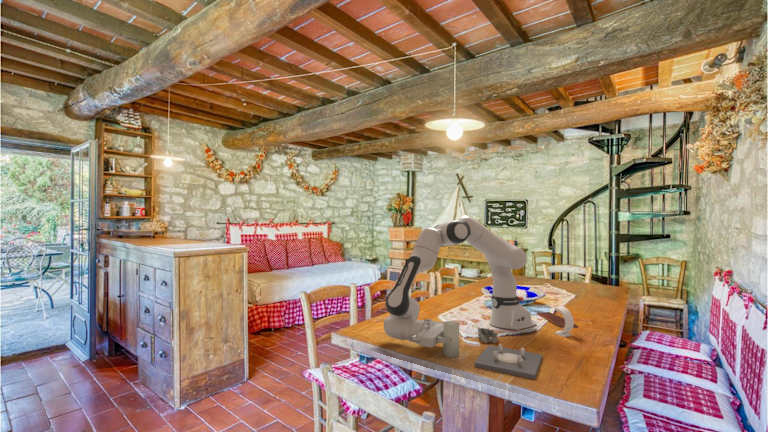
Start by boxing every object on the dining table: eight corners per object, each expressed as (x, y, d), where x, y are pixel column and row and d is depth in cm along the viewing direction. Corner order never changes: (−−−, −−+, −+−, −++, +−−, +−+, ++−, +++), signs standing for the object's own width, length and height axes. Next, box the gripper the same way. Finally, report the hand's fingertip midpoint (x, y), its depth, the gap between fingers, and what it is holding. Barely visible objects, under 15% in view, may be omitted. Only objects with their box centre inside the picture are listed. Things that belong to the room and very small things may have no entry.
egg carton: (498, 344, 152) (498, 334, 152) (480, 343, 153) (480, 333, 153) (494, 335, 163) (494, 326, 162) (477, 334, 164) (477, 325, 164)
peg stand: (488, 348, 146) (488, 337, 146) (542, 358, 136) (542, 346, 136) (474, 366, 129) (474, 354, 129) (534, 379, 119) (535, 365, 119)
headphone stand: (561, 332, 166) (562, 306, 166) (573, 336, 161) (573, 309, 161) (554, 333, 164) (554, 307, 164) (566, 337, 159) (566, 310, 159)
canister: (453, 350, 144) (453, 320, 144) (462, 356, 139) (462, 324, 139) (440, 352, 142) (440, 322, 142) (448, 358, 137) (448, 326, 136)
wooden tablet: (580, 328, 173) (580, 325, 173) (559, 329, 173) (559, 325, 173) (551, 313, 200) (551, 310, 200) (533, 313, 199) (533, 310, 199)
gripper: (409, 331, 138) (443, 337, 131) (430, 317, 156) (461, 322, 149) (409, 348, 138) (443, 355, 131) (430, 332, 156) (461, 338, 149)
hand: (453, 337), depth 140 cm, fingers closed on canister, 6 cm apart
